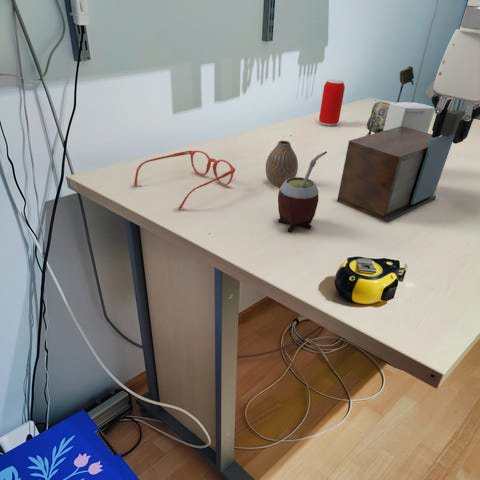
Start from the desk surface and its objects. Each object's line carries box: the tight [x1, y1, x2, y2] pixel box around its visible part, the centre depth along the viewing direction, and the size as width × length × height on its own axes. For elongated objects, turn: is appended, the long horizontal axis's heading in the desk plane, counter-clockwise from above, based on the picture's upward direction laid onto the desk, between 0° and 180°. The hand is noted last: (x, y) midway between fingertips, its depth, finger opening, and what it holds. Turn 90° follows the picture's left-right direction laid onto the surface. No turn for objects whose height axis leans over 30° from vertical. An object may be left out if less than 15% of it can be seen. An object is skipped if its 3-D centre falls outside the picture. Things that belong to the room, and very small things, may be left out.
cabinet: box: [336, 126, 440, 224], centre depth 84 cm, size 12×18×12 cm
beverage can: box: [318, 78, 346, 127], centre depth 128 cm, size 6×6×12 cm
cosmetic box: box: [383, 101, 435, 133], centre depth 97 cm, size 8×6×15 cm
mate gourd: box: [277, 150, 328, 233], centre depth 73 cm, size 8×8×15 cm
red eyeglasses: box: [133, 150, 236, 210], centre depth 87 cm, size 17×16×5 cm
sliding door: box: [410, 109, 465, 205], centre depth 81 cm, size 2×9×16 cm, turn 131°
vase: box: [265, 140, 299, 188], centre depth 90 cm, size 7×7×9 cm
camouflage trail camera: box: [365, 65, 415, 136], centre depth 105 cm, size 8×11×20 cm
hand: (447, 138), depth 80 cm, fingers open, 3 cm apart
